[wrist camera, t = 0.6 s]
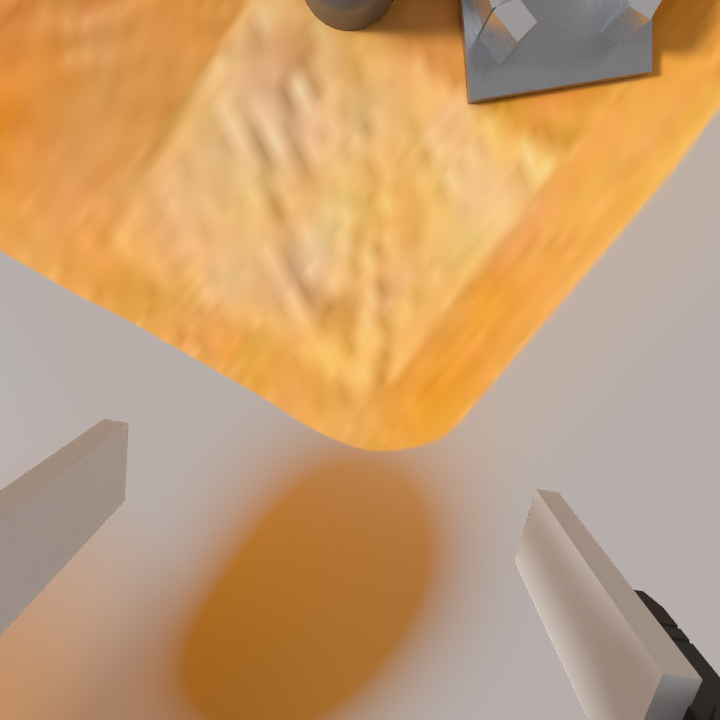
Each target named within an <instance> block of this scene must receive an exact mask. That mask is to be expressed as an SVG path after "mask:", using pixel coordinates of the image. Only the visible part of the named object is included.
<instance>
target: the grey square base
mask: <svg viewBox="0 0 720 720" xmlns="http://www.w3.org/2000/svg"><path fill="white" fill-rule="evenodd" d="M661 1H662V0H459V2H460V14H461V26H462V38H463V50H464V62H465V74H466V86H467V98H468V104H470V103H477V102H483V101H489V100H495V99H501V98H507V97H514V96H520V95H526V94H532V93H538V92H544V91H551V90H557V89H563V88H569V87H575V86H581V85H587V84H594V83H600V82H606V81H612V80H618V79H624V78H631V77H637V76H643V75H647V74H648V73H650V72H652V71H653V15H654V13H655V11H656V9H657V8H658V6H659V4H660V3H661Z"/></svg>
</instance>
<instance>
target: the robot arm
mask: <svg viewBox="0 0 720 720" xmlns="http://www.w3.org/2000/svg"><path fill="white" fill-rule="evenodd" d="M127 443H128V423H124V422H117V421H112V420H105V419H104V420H102V421H101V422H99V423H98V424H97V425H95V426H93V427H92V428H91V429H89V430H88V431H86V432H85V433H83V434H82V435H80V436H79V437H78V438H76V439H75V440H73V441H72V442H70V443H69V444H67V445H66V446H65V447H63V448H61V449H60V450H59V451H57V452H56V453H54V454H53V455H51V456H50V457H49V458H47V459H46V460H44V461H43V462H41V463H40V464H38V465H37V466H35V467H34V468H32V469H31V470H29V471H28V472H27V473H25V474H24V475H22V476H21V477H19V478H18V479H16V480H15V481H14V482H12V483H11V484H9V485H8V486H6V487H5V488H3V489H2V490H0V635H1V634H2V633H3V632H4V631H5V630H6V629H7V628H8V626H9V625H10V624H11V623H12V622H13V621H14V620H15V619H16V618H17V617H18V616H19V615H20V613H21V612H22V611H23V610H24V609H25V608H26V607H27V606H28V605H29V604H30V602H31V601H32V600H33V599H34V598H35V597H36V596H37V595H38V594H39V593H40V592H41V591H42V590H43V589H44V587H45V586H46V585H47V584H48V583H49V582H50V581H51V580H52V579H53V578H54V577H55V576H56V574H57V573H58V572H59V571H60V570H61V569H62V568H63V567H64V566H65V564H67V562H68V561H69V560H70V559H71V558H72V557H73V556H74V555H75V554H76V553H77V551H79V549H80V548H81V547H82V546H83V545H84V544H85V543H86V542H87V541H88V540H89V538H90V537H91V536H92V535H93V534H94V533H95V532H96V531H97V530H98V529H99V528H100V527H101V526H102V525H103V523H104V522H105V521H106V520H107V519H108V518H109V517H110V516H111V515H112V514H113V513H114V511H115V510H116V509H117V508H118V507H119V506H120V505H121V504H122V503H123V502H124V500H125V482H126V462H127ZM514 562H515V564H516V566H517V568H518V570H519V573H520V575H521V577H522V579H523V581H524V583H525V585H526V588H527V590H528V592H529V594H530V596H531V598H532V600H533V603H534V605H535V607H536V609H537V611H538V613H539V615H540V617H541V620H542V622H543V624H544V626H545V628H546V630H547V632H548V635H549V637H550V639H551V641H552V643H553V645H554V648H555V650H556V652H557V654H558V656H559V658H560V660H561V662H562V665H563V667H564V669H565V671H566V673H567V675H568V678H569V680H570V682H571V684H572V686H573V688H574V690H575V692H576V695H577V696H578V699H579V701H580V703H581V705H582V707H583V710H584V712H585V714H586V716H587V718H588V720H720V677H719V676H718V675H717V673H716V672H715V671H714V670H713V669H712V667H711V666H710V665H709V664H708V662H707V661H706V660H705V659H704V657H703V656H702V655H701V654H700V652H699V651H698V650H697V649H696V648H695V646H694V645H693V644H690V642H689V639H688V638H687V637H686V635H685V634H684V633H683V632H682V630H681V629H678V628H677V624H676V623H675V622H674V620H673V619H672V618H671V617H670V616H669V614H668V613H667V612H666V611H665V609H664V608H663V607H662V606H660V605H659V604H658V603H657V602H655V601H654V600H653V599H652V598H651V597H649V596H648V595H647V594H646V593H644V592H643V591H637V590H633V589H632V587H631V586H630V585H629V584H628V582H627V581H626V579H625V578H624V577H623V576H622V574H621V573H620V572H619V570H618V569H617V568H616V566H615V565H614V564H613V563H612V561H611V560H610V559H609V558H608V556H607V555H606V554H605V552H604V551H603V550H602V548H601V547H600V546H599V544H598V543H597V542H596V541H595V539H594V538H593V537H592V535H591V534H590V533H589V531H588V530H587V529H586V528H585V526H584V525H583V524H582V522H581V521H580V520H579V519H578V517H577V516H576V515H575V513H574V512H573V511H572V509H571V508H570V507H569V506H568V504H567V503H566V502H565V500H564V499H563V498H562V496H561V495H560V494H559V493H557V492H551V491H545V490H538V489H536V490H535V493H534V497H533V500H532V503H531V507H530V510H529V514H528V517H527V521H526V524H525V527H524V531H523V534H522V537H521V541H520V544H519V547H518V551H517V554H516V558H515V561H514Z"/></svg>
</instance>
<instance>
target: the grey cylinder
mask: <svg viewBox="0 0 720 720" xmlns="http://www.w3.org/2000/svg"><path fill="white" fill-rule="evenodd" d="M305 1H306V3H307V5H308V6H309V8H310V10H311V11H312V12H313V13H314V15H315V16H316V17H317V18H318V19H319V20H321V21H322V22H323V23H325V24H326V25H328V26H330V27H332V28H335V29H338V30H342V31H356V30H360V29H364V28H366V27H369V26H370V25H372V24H374V23H375V22H376V21H378V20H379V19H380V18H381V17H382V16H383V15H384V14H385V12H386V11H387V10H388V9H389V7H390V5H391V3H392V1H393V0H305Z"/></svg>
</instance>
